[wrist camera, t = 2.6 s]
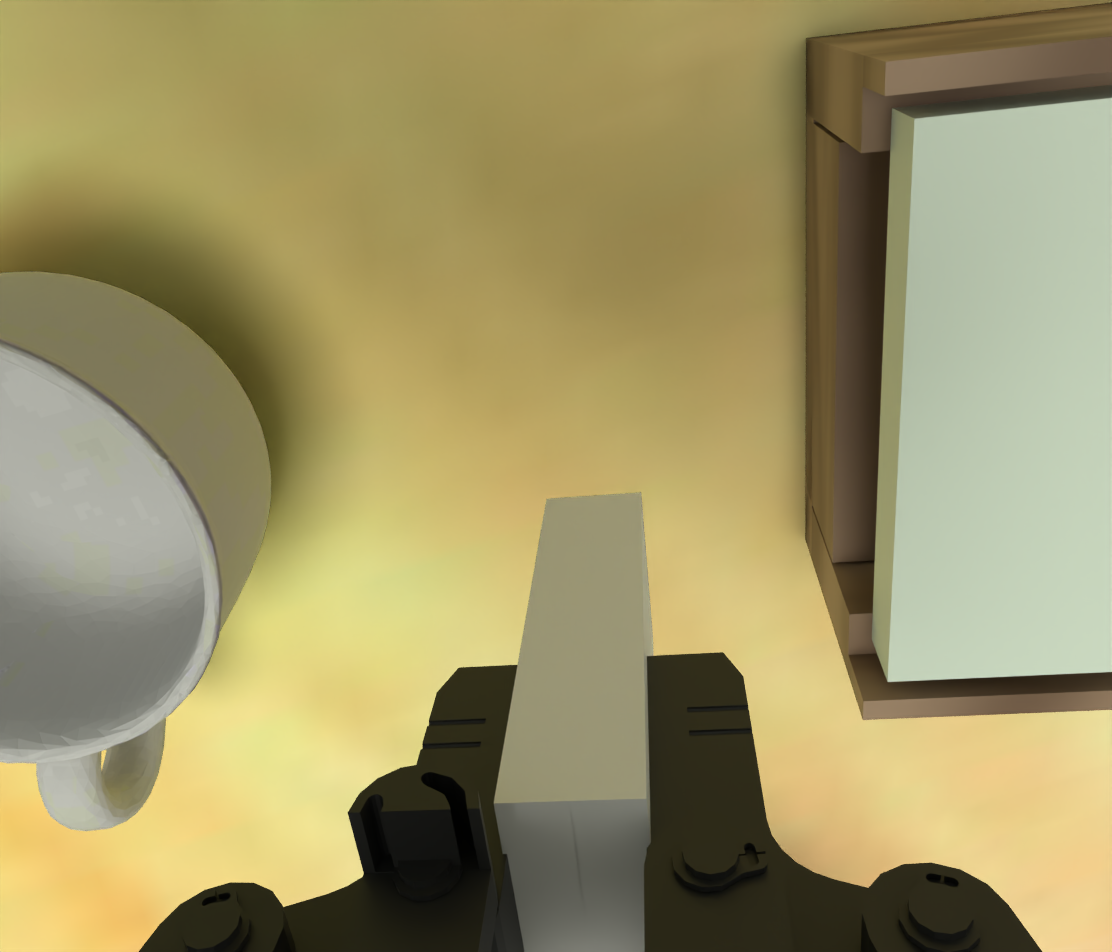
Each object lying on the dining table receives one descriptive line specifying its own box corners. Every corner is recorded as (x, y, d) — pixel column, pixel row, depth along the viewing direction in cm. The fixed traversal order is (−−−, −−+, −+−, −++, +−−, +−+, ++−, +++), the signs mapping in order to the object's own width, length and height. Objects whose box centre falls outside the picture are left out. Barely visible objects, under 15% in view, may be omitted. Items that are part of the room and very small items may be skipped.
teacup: (-106, 213, 25) (-398, 303, 18) (310, 252, 25) (182, 360, 18) (-7, 650, 31) (-194, 845, 24) (326, 685, 31) (236, 893, 24)
